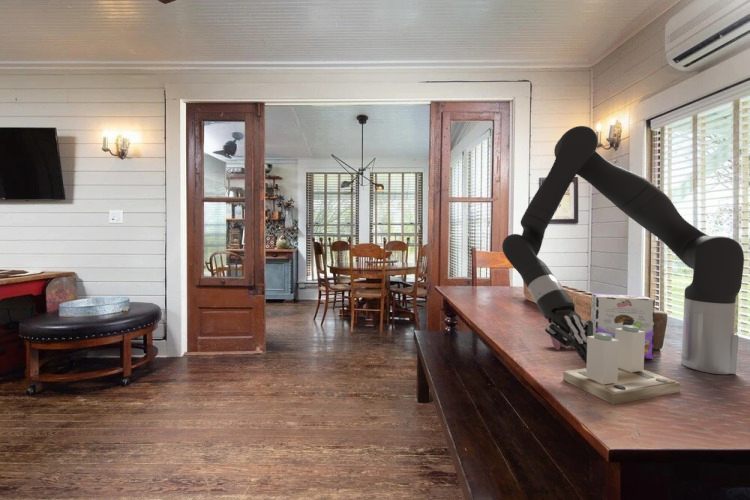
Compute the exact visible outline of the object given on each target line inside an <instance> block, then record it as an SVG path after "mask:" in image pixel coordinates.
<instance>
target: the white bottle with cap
mask: <svg viewBox="0 0 750 500" xmlns="http://www.w3.org/2000/svg"><path fill="white" fill-rule="evenodd" d="M618 354H619V340H617V339H613V338H612V335H610V334H607V333H599V332H597V333H594V336H588V337H587V363H586V367H585V368H586V377H587V378H589V379H592V380H594V381H596V382H598V383H601V384H603V385H604V384H610V383H616V382H617V379H618Z"/></svg>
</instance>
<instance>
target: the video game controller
mask: <svg viewBox="0 0 750 500" xmlns="http://www.w3.org/2000/svg"><path fill="white" fill-rule="evenodd" d="M549 337H550V339H551V343H552V345H553V348H555V350H557V351H559V350H560V349H561V348H565V347H566V346H565V345H563V344H562V343H561V342H559V341H558V340H556V339H555V338H554V337H552V336H551V335H549ZM562 338H563V339H564V337H562ZM566 348H567V347H566ZM571 348H572V349H574V348H573V347H571Z"/></svg>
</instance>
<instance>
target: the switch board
mask: <svg viewBox="0 0 750 500" xmlns="http://www.w3.org/2000/svg"><path fill="white" fill-rule="evenodd" d="M563 381H566V382H567V383H569V384H572V385H573V386H575V387H577V388H579V389H581V390H584V391H586V392H588V393H589V394H592V395H593V396H595V397H598V398H600V399H601V400H602V401H603V400H604V402H608V403H609V404H612V405H616V404H622V403H627V402H628V403H629V402H633V401H638V400H639V401H640V400H643V399H648V398H655V397H659V396H665V394H666V395H670V394H676V393H680V392H681V382H679V381H677V380H675V379H674V380H673V379H671V378H669V377H665V376H663V375H659V374H657V373H654V372H652V371H649V370H646V369H644V371H637V372H628V371H626V370H623V369H620V368H618V379H617V382H616V383H610V384H604V385H603V384H601V383H598V382H596V381H594V380H592V379H589V378H587V377H586V367H584V368H576V369H570V370H563Z"/></svg>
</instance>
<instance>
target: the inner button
mask: <svg viewBox="0 0 750 500" xmlns="http://www.w3.org/2000/svg"><path fill="white" fill-rule="evenodd" d="M615 339H617V340H619V354H618V368H620V369H623V370H626V371H628V372H637V371H644V370H645V369H644V367H645V358H644V350H645V332H644V331H640V330H639V327H636V326H631V325H622V328H616V329H615Z"/></svg>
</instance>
